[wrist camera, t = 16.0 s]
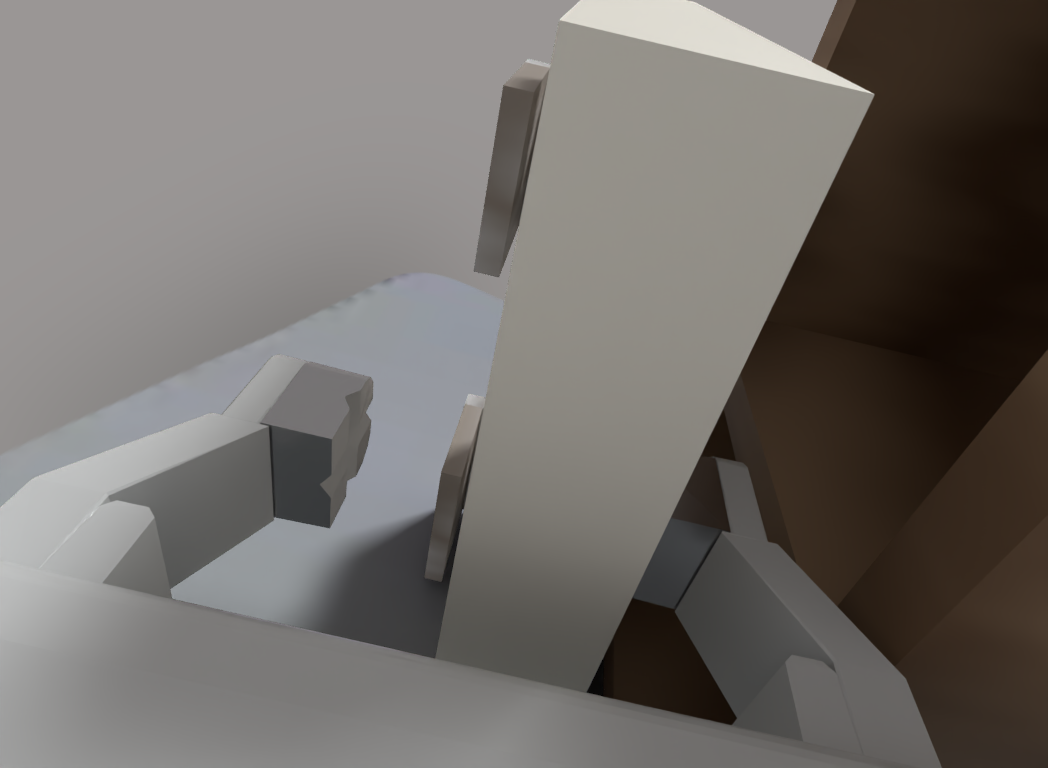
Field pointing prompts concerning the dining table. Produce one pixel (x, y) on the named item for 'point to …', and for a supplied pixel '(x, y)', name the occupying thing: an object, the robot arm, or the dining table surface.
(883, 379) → the cabinet
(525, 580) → the door
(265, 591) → the dining table surface
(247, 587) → the dining table surface
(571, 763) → the robot arm
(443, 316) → the dining table surface
